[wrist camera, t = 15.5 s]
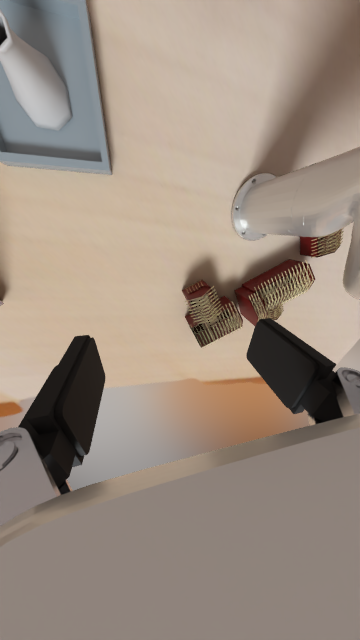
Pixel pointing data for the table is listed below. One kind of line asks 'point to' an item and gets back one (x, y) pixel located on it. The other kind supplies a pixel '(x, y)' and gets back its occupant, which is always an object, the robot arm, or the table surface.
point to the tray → (78, 76)
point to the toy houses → (249, 298)
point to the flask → (33, 81)
